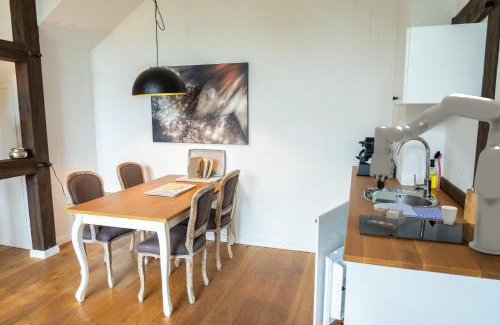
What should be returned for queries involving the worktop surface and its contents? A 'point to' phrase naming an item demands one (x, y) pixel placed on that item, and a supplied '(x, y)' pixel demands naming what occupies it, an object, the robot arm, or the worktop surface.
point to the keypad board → (386, 222)
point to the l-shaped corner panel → (383, 196)
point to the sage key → (384, 208)
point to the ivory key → (392, 214)
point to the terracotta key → (379, 212)
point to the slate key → (398, 211)
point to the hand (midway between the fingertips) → (380, 188)
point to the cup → (448, 214)
